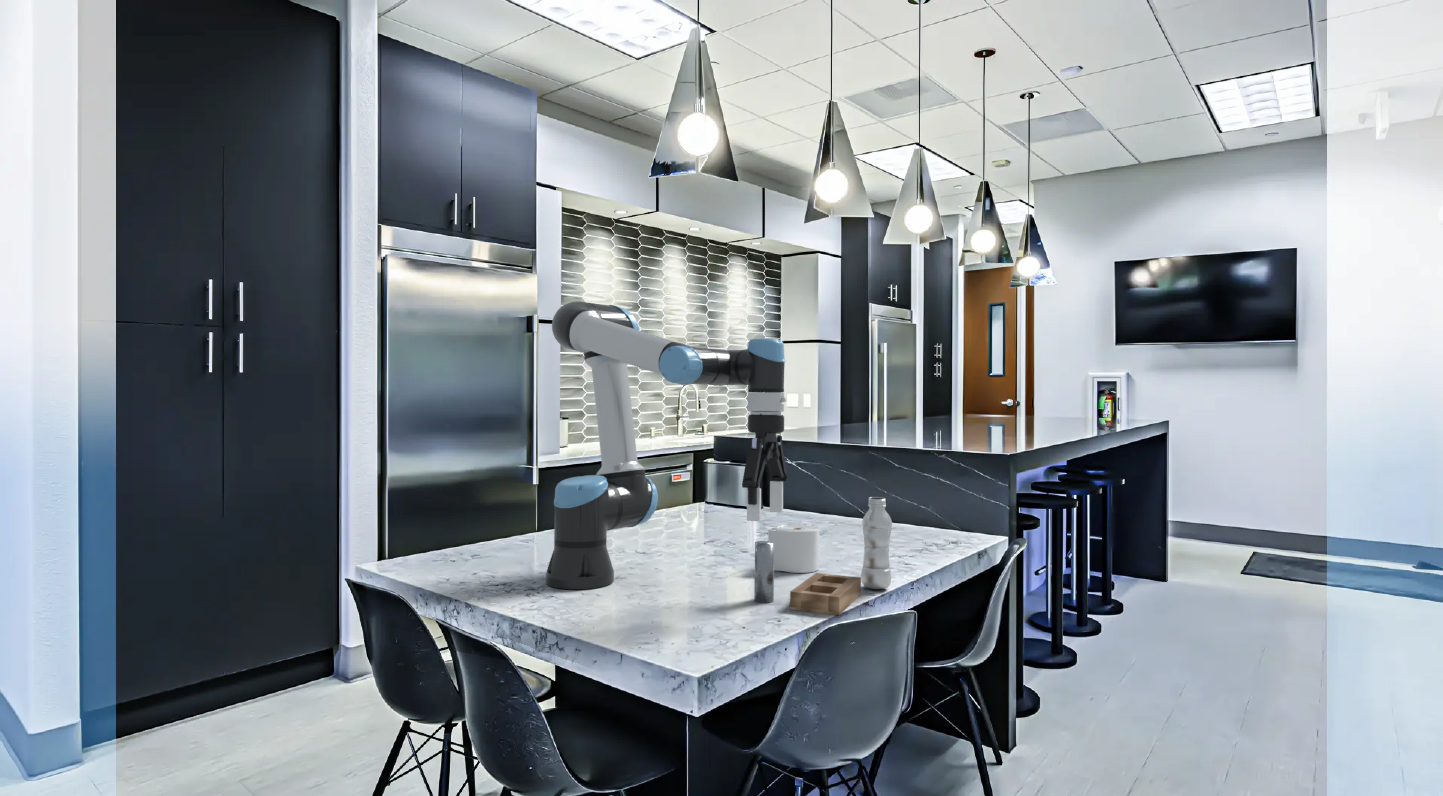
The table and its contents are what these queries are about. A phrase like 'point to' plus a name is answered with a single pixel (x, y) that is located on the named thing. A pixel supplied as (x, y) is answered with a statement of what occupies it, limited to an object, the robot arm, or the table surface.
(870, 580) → the plastic bottle
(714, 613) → the table surface
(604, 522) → the robot arm
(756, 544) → the pin
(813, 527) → the toilet tissue
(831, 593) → the block
